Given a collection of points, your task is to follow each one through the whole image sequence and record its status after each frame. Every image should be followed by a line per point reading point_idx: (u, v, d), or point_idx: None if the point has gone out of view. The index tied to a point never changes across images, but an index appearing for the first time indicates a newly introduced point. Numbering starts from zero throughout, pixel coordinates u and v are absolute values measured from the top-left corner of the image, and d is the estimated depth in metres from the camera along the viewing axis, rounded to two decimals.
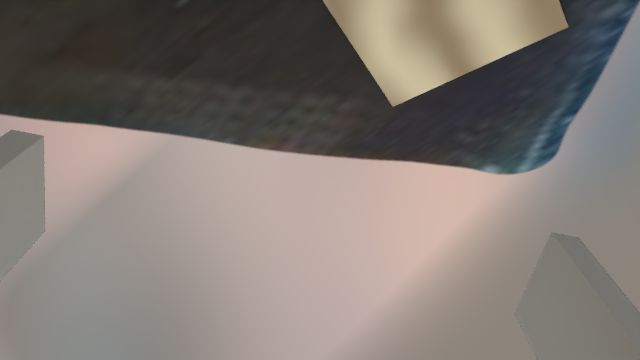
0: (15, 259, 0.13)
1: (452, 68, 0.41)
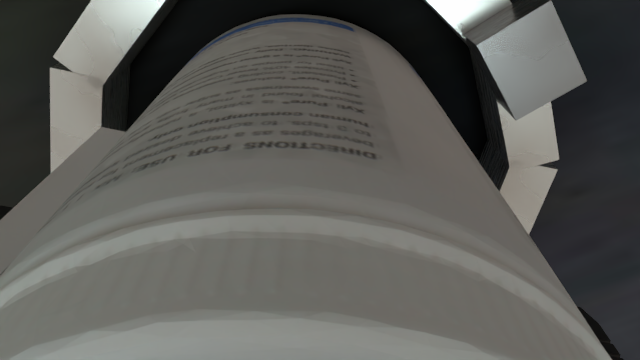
0: None
1: None
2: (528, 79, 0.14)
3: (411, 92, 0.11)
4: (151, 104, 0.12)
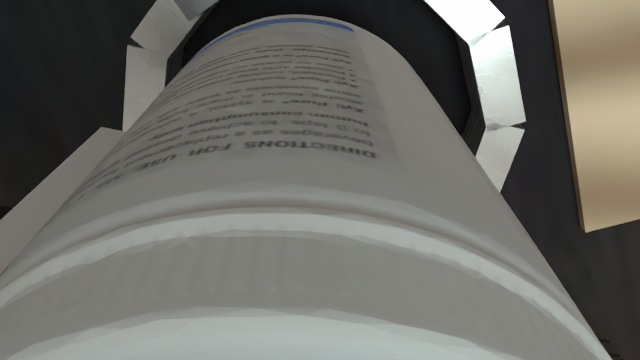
0: None
1: None
2: None
3: (410, 92, 0.11)
4: (151, 104, 0.12)
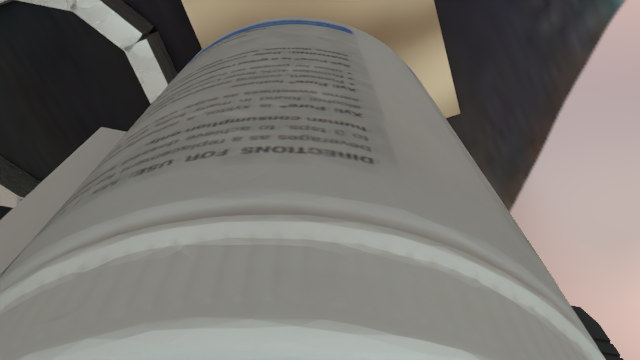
0: None
1: (425, 33, 0.32)
2: None
3: (409, 95, 0.11)
4: (149, 107, 0.12)
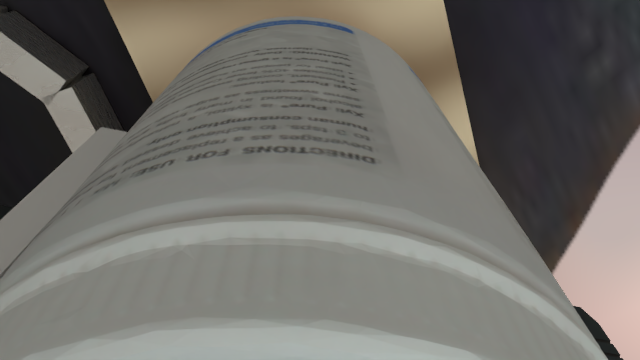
0: None
1: (439, 81, 0.25)
2: None
3: (410, 95, 0.11)
4: (150, 107, 0.12)
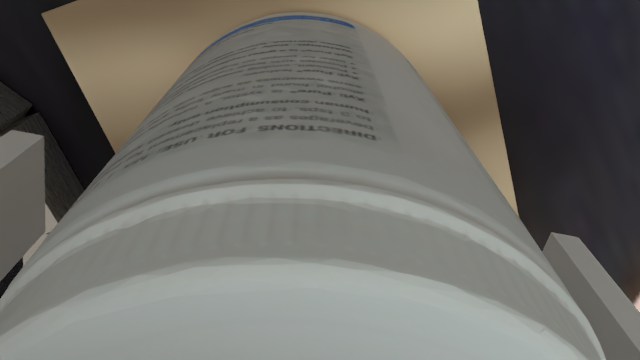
0: (15, 259, 0.13)
1: (474, 124, 0.20)
2: None
3: (408, 84, 0.12)
4: (165, 96, 0.13)
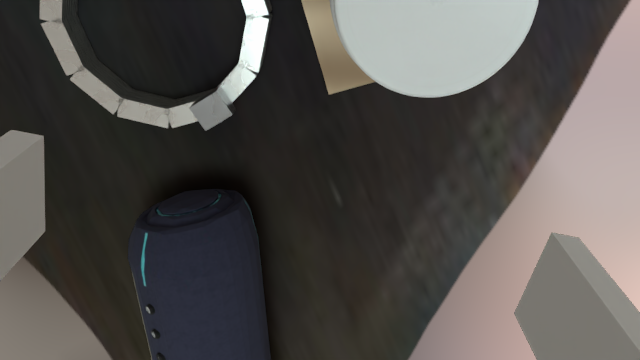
0: (15, 259, 0.13)
1: None
2: None
3: None
4: None
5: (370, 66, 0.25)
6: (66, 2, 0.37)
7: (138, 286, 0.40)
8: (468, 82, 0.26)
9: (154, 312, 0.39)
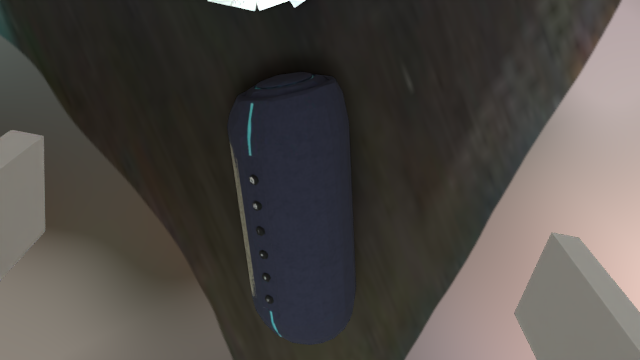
0: (15, 259, 0.13)
1: None
2: None
3: None
4: None
5: None
6: None
7: (241, 159, 0.42)
8: None
9: (258, 182, 0.42)
